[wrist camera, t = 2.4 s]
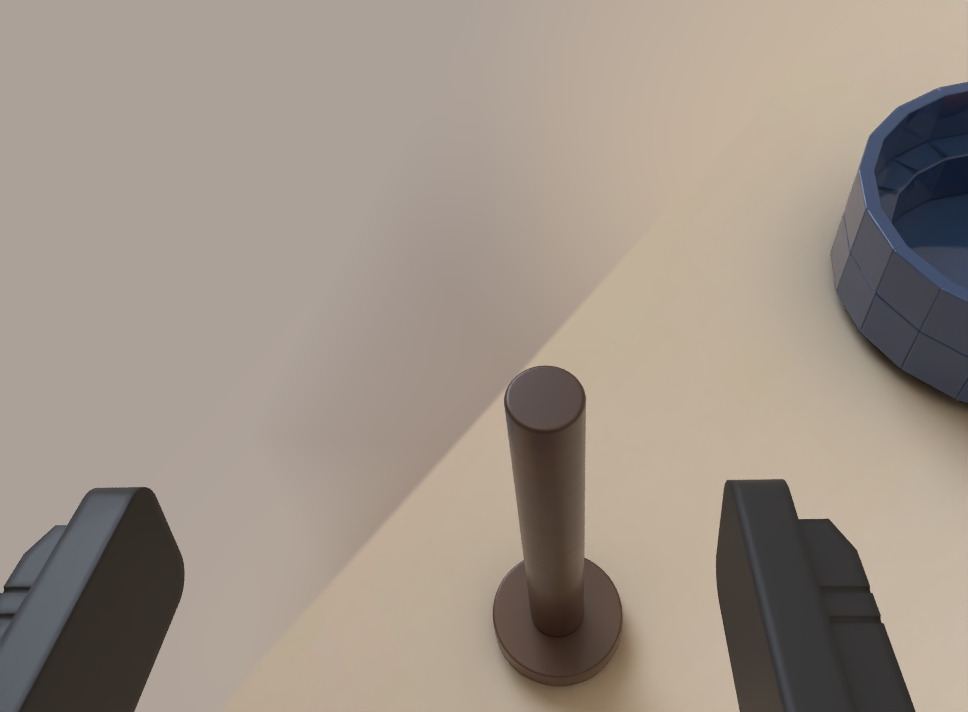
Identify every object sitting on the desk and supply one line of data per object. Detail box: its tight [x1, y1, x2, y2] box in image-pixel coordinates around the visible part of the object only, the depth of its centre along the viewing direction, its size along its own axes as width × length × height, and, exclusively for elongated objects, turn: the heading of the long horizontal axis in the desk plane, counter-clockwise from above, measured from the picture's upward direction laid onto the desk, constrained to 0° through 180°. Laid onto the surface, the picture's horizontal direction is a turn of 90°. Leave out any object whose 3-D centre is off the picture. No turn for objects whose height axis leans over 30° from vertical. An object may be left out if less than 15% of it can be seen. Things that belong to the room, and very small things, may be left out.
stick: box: [493, 366, 623, 686], centre depth 25 cm, size 4×4×14 cm
